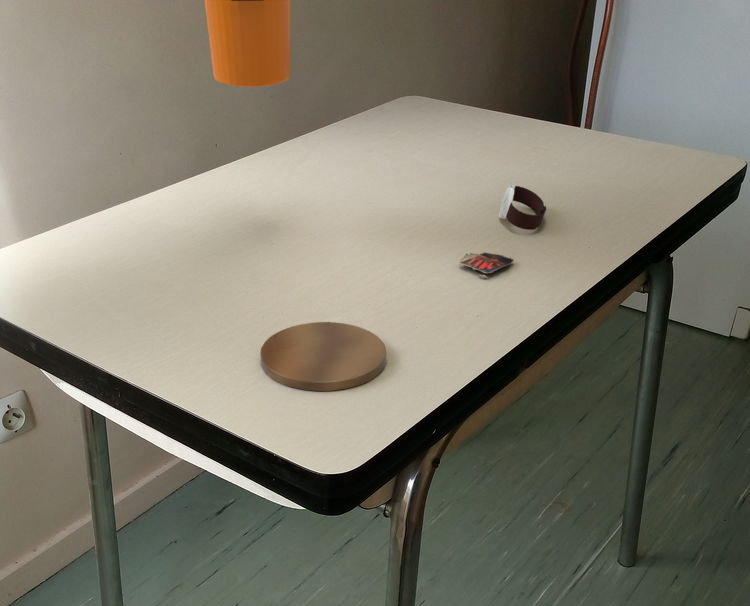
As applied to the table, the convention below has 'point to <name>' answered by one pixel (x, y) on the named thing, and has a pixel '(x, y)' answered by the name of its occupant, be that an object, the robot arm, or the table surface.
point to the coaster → (323, 356)
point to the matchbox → (485, 262)
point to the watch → (517, 216)
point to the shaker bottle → (249, 41)
